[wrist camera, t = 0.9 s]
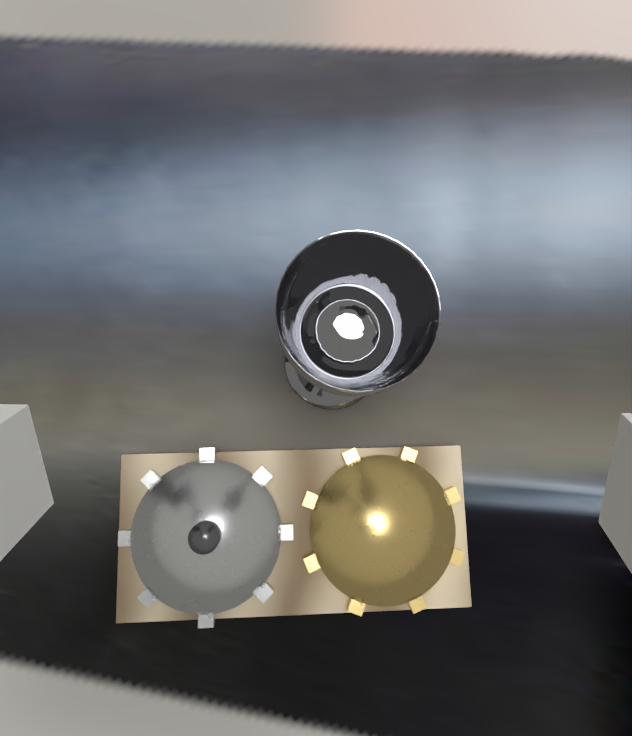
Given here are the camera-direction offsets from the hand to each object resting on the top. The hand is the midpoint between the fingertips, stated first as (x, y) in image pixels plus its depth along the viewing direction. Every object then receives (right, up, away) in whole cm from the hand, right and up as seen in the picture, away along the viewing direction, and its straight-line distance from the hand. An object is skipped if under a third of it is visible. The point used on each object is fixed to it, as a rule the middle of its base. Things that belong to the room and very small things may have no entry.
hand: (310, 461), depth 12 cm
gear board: (-1, -9, +25) cm, 27 cm away
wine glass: (+1, +2, +28) cm, 28 cm away
